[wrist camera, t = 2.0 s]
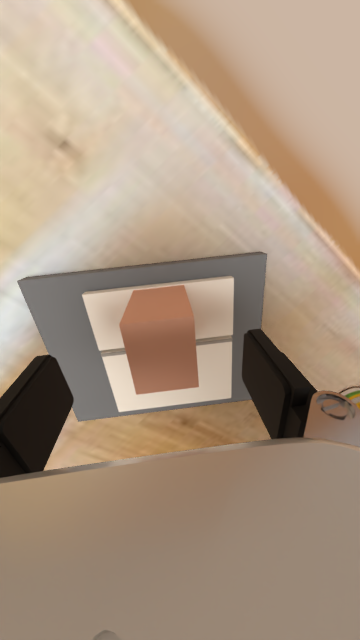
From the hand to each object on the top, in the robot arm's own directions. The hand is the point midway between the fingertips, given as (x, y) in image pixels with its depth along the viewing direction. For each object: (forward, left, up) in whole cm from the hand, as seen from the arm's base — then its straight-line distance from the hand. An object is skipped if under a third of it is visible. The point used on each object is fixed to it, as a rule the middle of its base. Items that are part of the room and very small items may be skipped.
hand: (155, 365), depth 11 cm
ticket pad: (-5, +1, -10) cm, 11 cm away
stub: (-1, 0, -8) cm, 8 cm away
